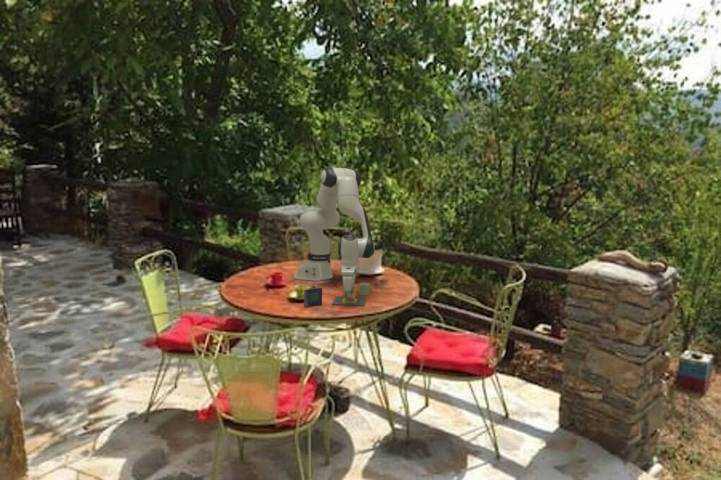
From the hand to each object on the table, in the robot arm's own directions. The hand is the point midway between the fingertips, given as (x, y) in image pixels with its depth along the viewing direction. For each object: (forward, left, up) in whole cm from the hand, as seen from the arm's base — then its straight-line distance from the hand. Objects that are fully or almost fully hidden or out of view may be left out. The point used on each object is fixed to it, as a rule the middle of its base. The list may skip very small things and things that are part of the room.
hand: (349, 294), depth 290 cm
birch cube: (0, 0, -2) cm, 2 cm away
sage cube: (+6, +15, -4) cm, 16 cm away
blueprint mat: (0, 0, -4) cm, 4 cm away
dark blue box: (-17, -8, -4) cm, 19 cm away
